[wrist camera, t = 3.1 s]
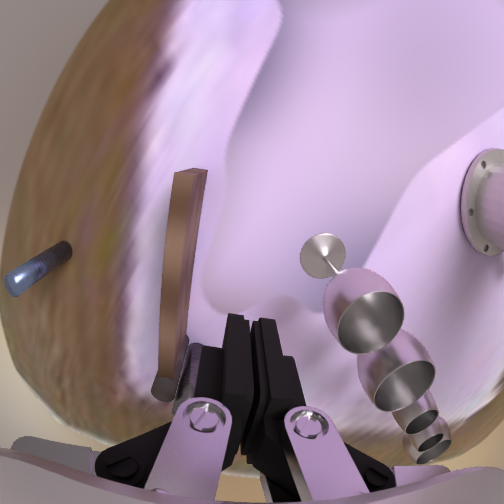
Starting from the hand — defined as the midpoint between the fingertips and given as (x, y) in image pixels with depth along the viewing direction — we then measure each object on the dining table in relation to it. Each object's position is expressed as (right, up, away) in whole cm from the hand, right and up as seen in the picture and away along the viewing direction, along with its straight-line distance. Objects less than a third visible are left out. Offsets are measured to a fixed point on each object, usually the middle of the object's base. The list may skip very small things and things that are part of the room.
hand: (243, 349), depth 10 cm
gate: (-6, +2, +16) cm, 17 cm away
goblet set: (+13, -6, +20) cm, 25 cm away
